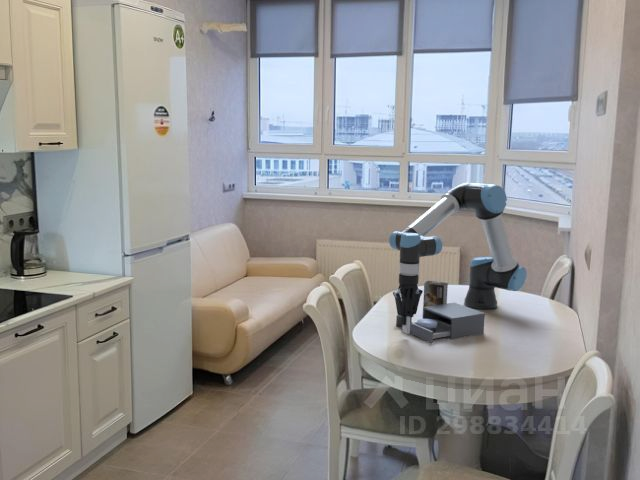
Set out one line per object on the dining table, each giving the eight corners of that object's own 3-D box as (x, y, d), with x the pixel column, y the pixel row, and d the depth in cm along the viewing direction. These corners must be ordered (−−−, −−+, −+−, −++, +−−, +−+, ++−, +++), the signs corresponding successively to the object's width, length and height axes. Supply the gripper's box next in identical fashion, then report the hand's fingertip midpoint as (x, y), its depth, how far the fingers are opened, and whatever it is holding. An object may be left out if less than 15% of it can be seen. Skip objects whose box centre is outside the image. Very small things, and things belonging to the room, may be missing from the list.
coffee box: (446, 318, 267) (448, 282, 264) (442, 322, 261) (444, 285, 258) (426, 315, 271) (428, 280, 268) (421, 318, 265) (423, 282, 263)
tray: (434, 324, 257) (435, 314, 256) (464, 336, 242) (464, 326, 241) (401, 329, 249) (402, 319, 248) (430, 342, 233) (431, 331, 233)
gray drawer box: (453, 321, 262) (454, 302, 261) (483, 333, 247) (484, 313, 245) (422, 326, 254) (423, 307, 252) (451, 339, 238) (452, 318, 237)
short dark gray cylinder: (403, 323, 258) (403, 314, 258) (410, 326, 254) (411, 317, 253) (393, 324, 256) (394, 315, 255) (401, 327, 252) (401, 318, 251)
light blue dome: (429, 321, 248) (429, 317, 248) (441, 327, 241) (441, 323, 241) (413, 323, 245) (413, 319, 244) (425, 329, 238) (425, 325, 237)
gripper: (416, 270, 241) (413, 327, 245) (389, 272, 234) (386, 332, 238) (428, 273, 234) (425, 332, 238) (401, 276, 228) (398, 337, 232)
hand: (406, 332), depth 238 cm, fingers closed
